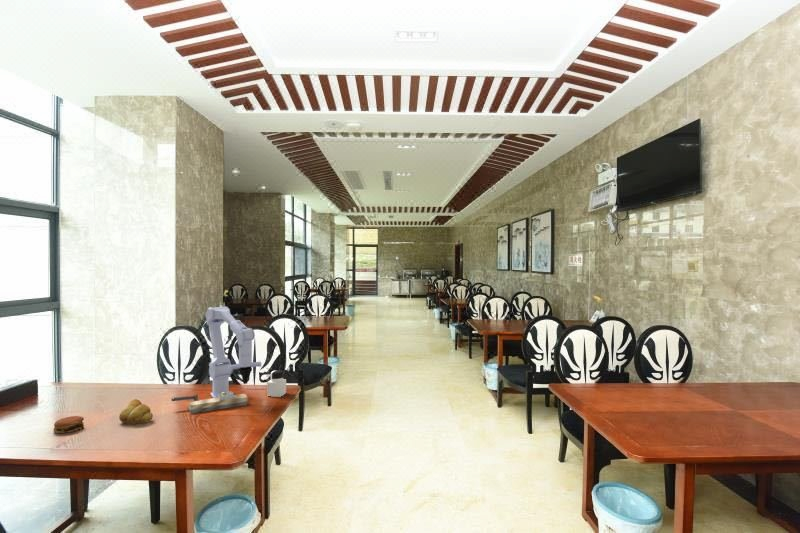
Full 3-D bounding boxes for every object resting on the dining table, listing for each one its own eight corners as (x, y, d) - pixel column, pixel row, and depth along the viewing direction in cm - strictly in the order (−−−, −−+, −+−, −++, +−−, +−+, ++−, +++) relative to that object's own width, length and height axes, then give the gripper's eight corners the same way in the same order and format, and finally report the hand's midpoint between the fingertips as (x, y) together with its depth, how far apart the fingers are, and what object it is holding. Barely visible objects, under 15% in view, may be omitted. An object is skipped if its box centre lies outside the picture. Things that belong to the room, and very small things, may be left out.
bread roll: (158, 419, 175) (158, 400, 176) (137, 428, 166) (137, 407, 166) (136, 416, 180) (136, 397, 180) (113, 423, 171) (114, 404, 171)
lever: (197, 405, 192) (197, 394, 192) (197, 406, 191) (197, 395, 191) (171, 408, 188) (171, 397, 188) (171, 409, 186) (171, 398, 186)
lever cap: (217, 397, 194) (217, 391, 194) (231, 395, 197) (231, 389, 197) (219, 400, 190) (219, 394, 190) (233, 398, 193) (233, 392, 193)
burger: (50, 430, 164) (50, 418, 164) (79, 423, 171) (80, 412, 171) (57, 436, 157) (57, 424, 157) (87, 429, 165) (87, 417, 165)
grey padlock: (286, 393, 215) (286, 369, 215) (281, 397, 208) (281, 372, 208) (272, 392, 215) (272, 369, 216) (267, 396, 208) (267, 372, 208)
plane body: (190, 413, 183) (190, 405, 183) (188, 409, 189) (188, 401, 189) (247, 404, 196) (247, 397, 196) (244, 400, 201) (244, 393, 202)
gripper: (230, 357, 191) (230, 387, 191) (263, 354, 199) (263, 383, 199) (227, 355, 197) (227, 384, 197) (259, 351, 205) (259, 379, 205)
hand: (245, 383), depth 198 cm, fingers closed
